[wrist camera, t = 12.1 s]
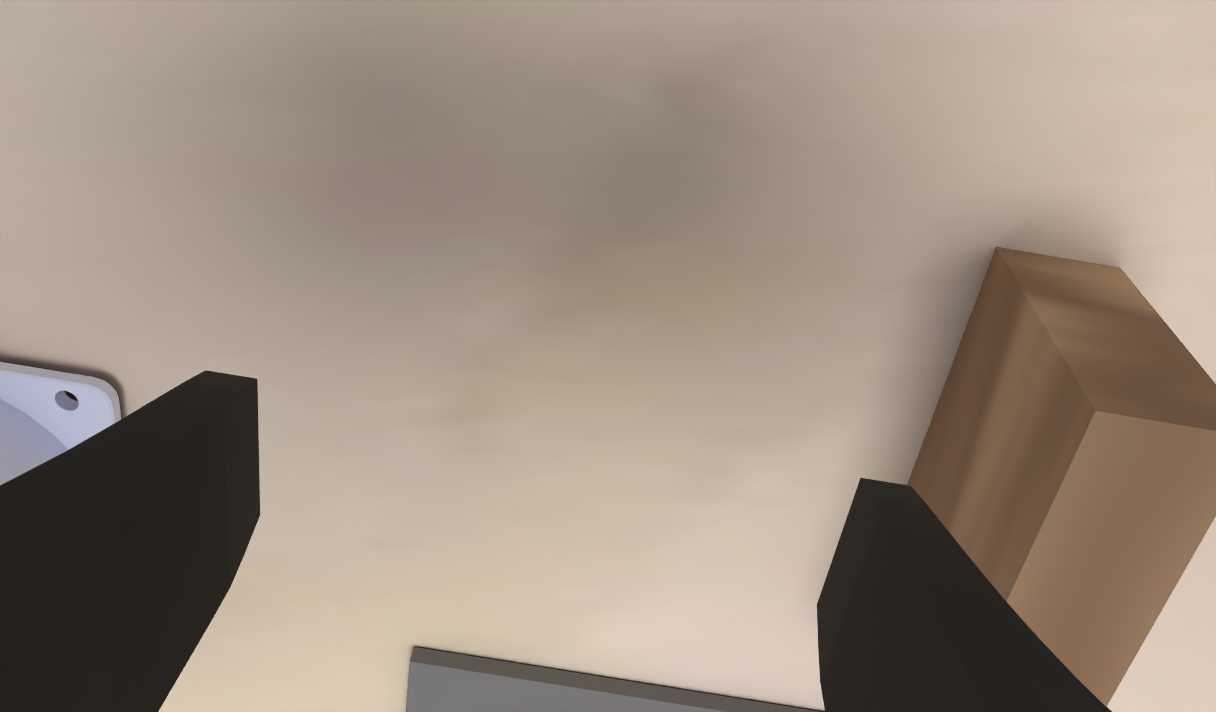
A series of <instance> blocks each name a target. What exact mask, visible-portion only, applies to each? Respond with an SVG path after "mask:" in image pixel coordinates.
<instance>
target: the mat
mask: <svg viewBox="0 0 1216 712" xmlns="http://www.w3.org/2000/svg"><path fill="white" fill-rule="evenodd" d="M406 712H820V711H814V710H807V709H801V708H795V707H789V706H782V705H776V704H770V703H763V702H757V701H751V700H745V699H738V698H732V697H726V696H719V695H713V694H707V693H701V692H694V691H688V690H682V689H675V688H669V687H663V686H657V685H650V684H644V683H638V682H632V681H625V680H619V679H613V678H606V677H600V676H594V675H588V674H581V673H575V672H569V671H562V670H556V669H550V668H544V667H537V666H531V665H525V664H518V663H512V662H506V661H500V660H493V659H487V658H481V657H474V656H468V655H462V654H456V653H449V652H443V651H437V650H431V649H424V648H418V647H414V650H413V653H412V656H411V660H410V667H409V680H408V692H407V705H406Z"/></svg>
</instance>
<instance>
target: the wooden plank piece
mask: <svg viewBox="0 0 1216 712" xmlns="http://www.w3.org/2000/svg"><path fill="white" fill-rule="evenodd" d="M907 486H912V487H913V489H914V490H915V491H916V492H917V493H918V494H919V495H920V497H921V498H922V499H923V500H924V501H925V503H926V504H927V505H928V506H929V508H930V509H931V510H932V511H933V512H934V514H935V515H936V516H937V517H938V519H939V520H940V521H941V522H942V524H943V525H944V526H945V527H946V529H947V530H948V531H949V532H950V534H951V535H952V536H953V537H954V539H955V540H956V541H957V542H958V544H959V545H960V546H961V547H962V549H963V550H964V551H965V552H966V553H967V555H968V556H969V557H970V558H971V560H972V561H973V562H974V563H975V565H976V566H977V567H978V568H979V569H980V571H981V572H982V573H983V574H984V575H985V577H986V578H987V579H988V580H989V582H990V583H991V584H992V585H993V586H994V587H995V589H996V590H997V591H998V592H999V593H1000V595H1001V596H1002V597H1003V598H1004V599H1005V600H1006V602H1007V603H1008V604H1009V605H1010V606H1011V607H1012V608H1013V610H1014V611H1015V612H1016V613H1017V614H1018V615H1019V617H1020V618H1021V619H1022V620H1023V621H1024V622H1025V623H1026V624H1027V625H1028V627H1029V628H1030V629H1031V630H1032V631H1033V632H1034V633H1035V634H1036V635H1037V637H1038V638H1039V639H1040V640H1041V641H1042V642H1043V643H1044V644H1045V645H1046V646H1047V647H1048V648H1049V649H1050V650H1051V651H1052V652H1053V653H1054V655H1055V656H1056V657H1057V658H1058V659H1059V660H1060V661H1061V662H1062V663H1063V664H1064V665H1065V666H1066V667H1067V668H1068V669H1069V670H1070V671H1071V672H1072V674H1073V675H1074V676H1075V677H1076V678H1077V679H1078V680H1079V681H1080V682H1081V683H1082V684H1083V685H1084V686H1085V687H1086V688H1087V689H1088V690H1089V691H1091V692H1092V693H1093V694H1094V695H1095V696H1096V697H1097V698H1098V699H1099V700H1100V701H1101V702H1102V703H1103V704H1104V705H1105V706H1106V707H1107V705H1108V703H1109V701H1110V700H1111V698H1112V696H1113V694H1114V693H1115V691H1116V689H1117V687H1118V686H1119V684H1120V682H1121V680H1122V679H1123V677H1124V675H1125V673H1126V672H1127V670H1128V668H1129V666H1130V665H1131V663H1132V661H1133V659H1134V658H1135V656H1136V654H1137V653H1138V651H1139V649H1140V647H1141V646H1142V644H1143V642H1144V640H1145V639H1146V637H1147V635H1148V633H1149V632H1150V630H1151V628H1152V626H1153V625H1154V623H1155V621H1156V619H1157V618H1158V616H1159V614H1160V612H1161V611H1162V609H1163V607H1164V605H1165V604H1166V602H1167V600H1168V598H1169V597H1170V595H1171V593H1172V591H1173V590H1174V588H1175V586H1176V584H1177V583H1178V581H1179V579H1180V577H1181V576H1182V574H1183V572H1184V570H1185V569H1186V567H1187V565H1188V564H1189V562H1190V560H1191V558H1192V557H1193V555H1194V553H1195V551H1196V550H1197V548H1198V546H1199V544H1200V543H1201V541H1202V539H1203V537H1204V536H1205V534H1206V532H1207V530H1208V529H1209V527H1210V525H1211V523H1212V522H1213V520H1214V518H1215V516H1216V384H1215V383H1214V381H1213V380H1212V379H1211V378H1210V377H1209V375H1208V374H1207V373H1206V372H1205V371H1204V369H1203V368H1202V367H1201V366H1200V364H1199V363H1198V362H1197V361H1196V360H1195V358H1194V357H1193V356H1192V355H1191V353H1190V352H1189V351H1188V350H1187V349H1186V347H1185V346H1184V345H1183V344H1182V342H1181V341H1180V340H1179V339H1178V338H1177V336H1176V335H1175V334H1174V333H1173V332H1172V330H1171V329H1170V328H1169V327H1168V325H1167V324H1166V323H1165V322H1164V321H1163V319H1162V318H1161V317H1160V316H1159V314H1158V313H1157V312H1156V311H1155V310H1154V308H1153V307H1152V306H1151V305H1150V304H1149V302H1148V301H1147V300H1146V299H1145V297H1144V296H1143V295H1142V294H1141V293H1140V291H1139V290H1138V289H1137V288H1136V286H1135V285H1134V284H1133V283H1132V282H1131V280H1130V279H1129V278H1128V277H1127V275H1126V274H1125V273H1124V272H1123V271H1122V269H1121V268H1117V267H1111V266H1105V265H1099V264H1093V263H1087V262H1082V261H1076V260H1070V259H1064V258H1058V257H1052V256H1046V255H1040V254H1034V253H1028V252H1022V251H1016V250H1010V249H1005V248H999V247H996V249H995V252H994V254H993V257H992V260H991V262H990V265H989V268H988V270H987V273H986V276H985V279H984V281H983V284H982V287H981V289H980V292H979V295H978V297H977V300H976V303H975V305H974V308H973V311H972V313H971V316H970V319H969V321H968V324H967V327H966V329H965V332H964V335H963V337H962V340H961V343H960V345H959V348H958V351H957V353H956V356H955V359H954V361H953V364H952V367H951V369H950V372H949V375H948V377H947V380H946V383H945V385H944V388H943V391H942V393H941V396H940V399H939V401H938V404H937V407H936V410H935V412H934V415H933V418H932V420H931V423H930V426H929V428H928V431H927V434H926V436H925V439H924V442H923V444H922V447H921V450H920V452H919V455H918V458H917V460H916V463H915V466H914V468H913V471H912V474H911V476H910V479H909V482H908V484H907Z"/></svg>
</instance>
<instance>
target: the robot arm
mask: <svg viewBox="0 0 1216 712" xmlns="http://www.w3.org/2000/svg"><path fill="white" fill-rule="evenodd" d="M65 391H68V392H70V393H72V394H73V395H74V396H75V397H77V400H78V401H75V400H72V399H70V398H69V397H68V396H67V395H66V393H65ZM259 516H260V489H259V440H258V391H257V379H255V378H249V377H243V376H236V375H230V374H224V373H218V372H212V371H204V372H202V373H200V374H198V375H196V376H194V377H193V378H191V379H189V380H187V381H185V382H184V383H182V384H180V385H179V386H177V387H175V388H173V389H172V390H170V391H168V392H167V393H165V394H163V395H162V396H160V397H158V398H157V399H155V400H153V401H152V402H150V403H148V404H146V405H145V406H143V407H141V408H140V409H138V410H136V411H135V412H133V413H131V414H130V415H128V416H126V417H125V418H123V419H121V413H120V403H119V398H118V395H117V392H116V391H115V389H114V388H113V387H112V386H111V385H110V384H108V383H107V382H106V381H104V380H102V379H99V378H95V377H90V376H84V375H78V374H72V373H66V372H59V371H53V370H47V369H41V368H35V367H29V366H23V365H17V364H11V363H4V362H0V712H158V711H159V709H160V708H161V706H162V704H163V703H164V701H165V699H166V697H167V696H168V694H169V692H170V691H171V689H172V687H173V685H174V684H175V682H176V680H177V679H178V677H179V675H180V674H181V672H182V670H183V668H184V667H185V665H186V663H187V662H188V660H189V658H190V656H191V655H192V653H193V651H194V650H195V648H196V646H197V645H198V643H199V641H200V639H201V638H202V636H203V634H204V632H205V631H206V629H207V627H208V625H209V624H210V622H211V620H212V618H213V617H214V615H215V613H216V612H217V610H218V608H219V606H220V605H221V603H222V601H223V599H224V597H225V596H226V594H227V592H228V590H229V589H230V587H231V584H232V582H233V580H234V577H235V575H236V573H237V570H238V568H239V566H240V563H241V561H242V559H243V556H244V554H245V551H246V549H247V546H248V544H249V541H250V539H251V536H252V534H253V531H254V529H255V526H256V524H257V521H258V519H259ZM817 619H818V649H819V667H820V683H821V689H822V695H823V701H824V707H825V712H1112V711H1111V710H1109V709H1108V708H1107V707H1106V706H1105V705H1104V704H1103V703H1102V702H1101V701H1100V700H1099V699H1098V698H1097V697H1096V696H1095V695H1094V694H1093V693H1092V692H1091V691H1089V690H1088V689H1087V688H1086V687H1085V686H1084V685H1083V684H1082V683H1081V682H1080V681H1079V680H1078V679H1077V678H1076V677H1075V676H1074V675H1073V674H1072V672H1071V671H1070V670H1069V669H1068V668H1067V667H1066V666H1065V665H1064V664H1063V663H1062V662H1061V661H1060V660H1059V659H1058V658H1057V657H1056V656H1055V655H1054V653H1053V652H1052V651H1051V650H1050V649H1049V648H1048V647H1047V646H1046V645H1045V644H1044V643H1043V642H1042V641H1041V640H1040V639H1039V638H1038V637H1037V635H1036V634H1035V633H1034V632H1033V631H1032V630H1031V629H1030V628H1029V627H1028V625H1027V624H1026V623H1025V622H1024V621H1023V620H1022V619H1021V618H1020V617H1019V615H1018V614H1017V613H1016V612H1015V611H1014V610H1013V608H1012V607H1011V606H1010V605H1009V604H1008V603H1007V602H1006V600H1005V599H1004V598H1003V597H1002V596H1001V595H1000V593H999V592H998V591H997V590H996V589H995V587H994V586H993V585H992V584H991V583H990V582H989V580H988V579H987V578H986V577H985V575H984V574H983V573H982V572H981V571H980V569H979V568H978V567H977V566H976V565H975V563H974V562H973V561H972V560H971V558H970V557H969V556H968V555H967V553H966V552H965V551H964V550H963V549H962V547H961V546H960V545H959V544H958V542H957V541H956V540H955V539H954V537H953V536H952V535H951V534H950V532H949V531H948V530H947V529H946V527H945V526H944V525H943V524H942V522H941V521H940V520H939V519H938V517H937V516H936V515H935V514H934V512H933V511H932V510H931V509H930V508H929V506H928V505H927V504H926V503H925V501H924V500H923V499H922V498H921V497H920V495H919V494H918V493H917V492H916V491H915V490H914V489H913V487H912V486H907V485H901V484H895V483H889V482H883V481H877V480H871V479H865V478H861V479H860V481H859V484H858V487H857V490H856V493H855V496H854V499H853V502H852V505H851V508H850V510H849V513H848V516H847V519H846V522H845V525H844V528H843V531H842V534H841V537H840V540H839V542H838V545H837V548H836V551H835V554H834V557H833V560H832V563H831V566H830V569H829V571H828V574H827V577H826V580H825V583H824V586H823V589H822V592H821V595H820V598H819V600H818V603H817Z"/></svg>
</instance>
